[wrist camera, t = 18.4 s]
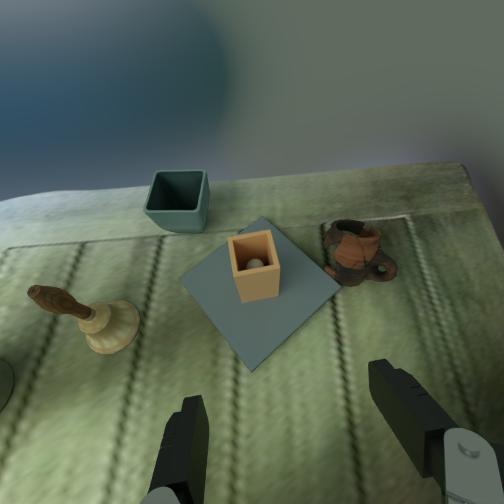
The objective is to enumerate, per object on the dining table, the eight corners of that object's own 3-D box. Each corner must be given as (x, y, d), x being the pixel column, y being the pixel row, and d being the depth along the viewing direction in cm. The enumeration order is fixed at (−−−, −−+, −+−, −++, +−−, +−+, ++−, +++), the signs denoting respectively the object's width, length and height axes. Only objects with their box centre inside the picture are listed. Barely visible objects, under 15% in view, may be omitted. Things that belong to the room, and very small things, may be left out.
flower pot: (163, 242, 47) (141, 211, 39) (172, 203, 51) (154, 169, 44) (210, 242, 47) (198, 212, 39) (216, 203, 51) (206, 168, 43)
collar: (278, 296, 39) (280, 268, 31) (242, 303, 39) (233, 277, 31) (270, 263, 42) (270, 229, 33) (236, 269, 42) (227, 237, 33)
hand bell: (134, 291, 43) (67, 243, 29) (145, 339, 39) (75, 309, 25) (83, 313, 42) (-11, 273, 28) (90, 364, 38) (-15, 347, 24)
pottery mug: (305, 271, 43) (314, 226, 39) (333, 252, 49) (344, 211, 45) (376, 309, 36) (397, 260, 32) (399, 281, 42) (419, 237, 38)
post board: (251, 372, 36) (246, 367, 29) (181, 282, 43) (163, 259, 36) (338, 289, 41) (353, 267, 34) (262, 220, 48) (260, 190, 41)
